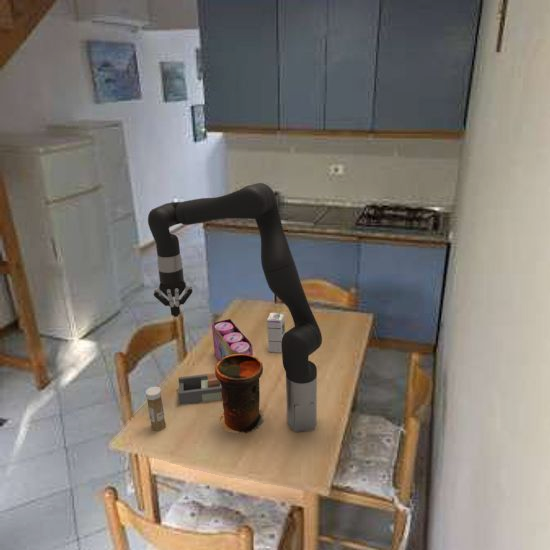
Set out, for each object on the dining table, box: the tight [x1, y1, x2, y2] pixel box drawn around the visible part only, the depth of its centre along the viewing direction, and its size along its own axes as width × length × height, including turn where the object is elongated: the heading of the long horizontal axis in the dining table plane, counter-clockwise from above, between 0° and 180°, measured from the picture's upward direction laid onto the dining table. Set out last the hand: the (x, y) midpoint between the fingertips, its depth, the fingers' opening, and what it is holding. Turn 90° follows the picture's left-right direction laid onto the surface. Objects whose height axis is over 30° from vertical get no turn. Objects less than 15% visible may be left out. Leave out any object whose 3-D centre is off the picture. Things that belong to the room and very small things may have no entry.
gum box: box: [211, 318, 254, 362], centre depth 180 cm, size 24×8×14 cm, turn 25°
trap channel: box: [177, 372, 222, 406], centre depth 167 cm, size 9×22×4 cm, turn 100°
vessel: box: [214, 354, 265, 434], centre depth 151 cm, size 14×14×20 cm
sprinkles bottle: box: [145, 386, 167, 432], centre depth 150 cm, size 5×5×14 cm
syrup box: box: [266, 312, 286, 354], centre depth 190 cm, size 6×6×14 cm
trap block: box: [206, 372, 220, 388], centre depth 167 cm, size 4×4×3 cm
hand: (176, 315), depth 163 cm, fingers closed
